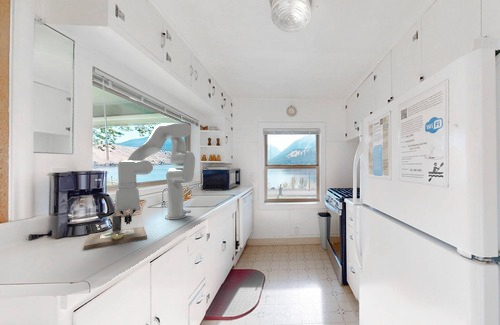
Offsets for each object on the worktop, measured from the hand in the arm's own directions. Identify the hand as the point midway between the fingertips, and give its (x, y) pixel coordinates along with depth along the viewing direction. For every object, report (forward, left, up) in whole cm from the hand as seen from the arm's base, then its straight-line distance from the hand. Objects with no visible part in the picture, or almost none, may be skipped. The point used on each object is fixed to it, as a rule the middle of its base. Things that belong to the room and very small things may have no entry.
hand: (128, 223), depth 100 cm
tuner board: (+4, +6, -5) cm, 9 cm away
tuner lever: (+4, +6, -3) cm, 8 cm away
